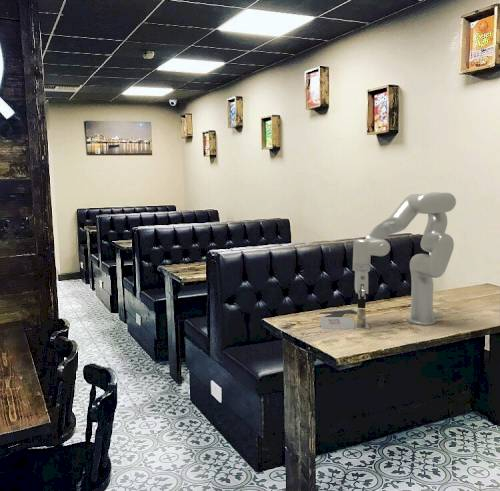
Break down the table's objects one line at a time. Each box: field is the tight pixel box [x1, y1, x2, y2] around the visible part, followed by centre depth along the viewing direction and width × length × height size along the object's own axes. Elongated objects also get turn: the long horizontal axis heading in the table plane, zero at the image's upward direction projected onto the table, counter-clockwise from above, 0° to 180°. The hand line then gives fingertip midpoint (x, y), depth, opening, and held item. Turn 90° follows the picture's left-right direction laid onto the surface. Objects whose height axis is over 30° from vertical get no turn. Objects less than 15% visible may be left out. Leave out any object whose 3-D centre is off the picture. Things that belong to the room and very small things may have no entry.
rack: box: [319, 316, 370, 330], centre depth 226 cm, size 21×12×4 cm, turn 85°
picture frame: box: [314, 308, 357, 317], centre depth 246 cm, size 16×3×21 cm
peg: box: [356, 308, 367, 326], centre depth 225 cm, size 4×4×7 cm
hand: (360, 305), depth 224 cm, fingers open, 9 cm apart
